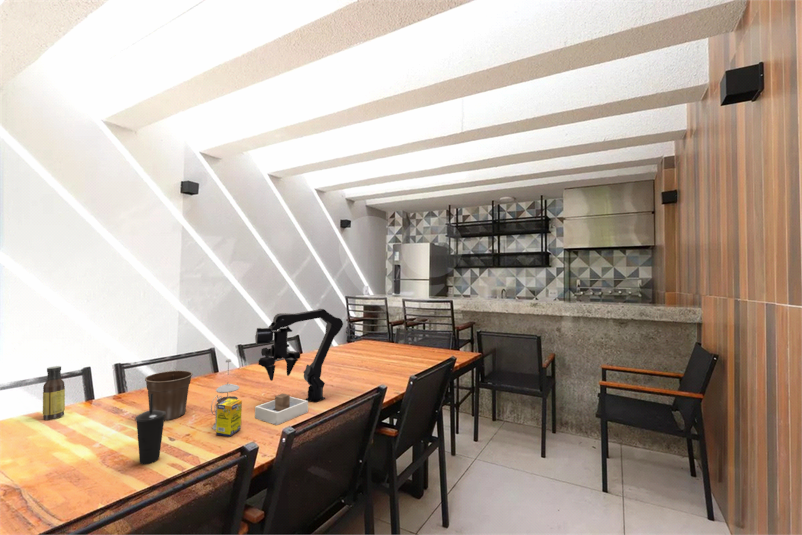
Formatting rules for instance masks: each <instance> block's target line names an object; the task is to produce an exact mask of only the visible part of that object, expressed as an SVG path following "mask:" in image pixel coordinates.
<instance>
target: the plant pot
mask: <svg viewBox="0 0 802 535" xmlns="http://www.w3.org/2000/svg"><path fill="white" fill-rule="evenodd" d="M192 376H193V372H192V371H189V370H168V371H162V372H158V373H157V372H156V373H153V374H150V375H148V376H145V378H144V381H145V383H146V390H147V397H148V399H147V400H148V409H149V410H150V394H153V410H161V411H165V412H166V415H165V417H164V422H166V421H171V420H175V419H178V418H180V417H181V416H184V415H185V414H186V409H187V403H188V396H189V395H188V394H189V389H190V387H189V386H190V384H191V380H192ZM149 410H148V411H149Z"/></svg>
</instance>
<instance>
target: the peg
mask: <svg viewBox="0 0 802 535" xmlns="http://www.w3.org/2000/svg"><path fill="white" fill-rule="evenodd" d="M274 397H275V398H274V400H275V410H276V411H282V410H284V409H287V408H289V407H290V397H291V395H290V394H287V393H281V394H278V395H275V396H274Z"/></svg>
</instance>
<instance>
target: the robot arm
mask: <svg viewBox="0 0 802 535" xmlns="http://www.w3.org/2000/svg"><path fill="white" fill-rule="evenodd" d="M319 318H320V319H321V320H322V321H323V322H325V323H326V325H325V333H324V336H323V338H322V340H321V343H320V345H319V347H318V350H317V352H316V354H315V356H314V358H313V361H312V362H311V363H310V364H306V366H305V370H304V371H303V378H304V380H305V382H306V383H307V384H308V385H309V386H308V388H307V389H308V391H307V397H306V398H305V400H306V401H308V402H309V401H310V402H312V403H318V402H320V401H323V400H326V396H324V387H325V384H326V382H324V381H323V380H322V379H321V376H322V371H323V370H322V368H323V364H324V362H325V360H326V357H327V354H328V353H329V350H330V349H331V348H330V347H331V345H332V343H333V341H334V339H335V337H336V336H337V335H338V334H339V333H340V331H341V330H342V328H343V326H344V322H343V320H342V318H339V317H336V316H334V315H333V314H331V313H329V312H328V311H326V309H324V308H318V309H315V310H314V309H313V310H308V311H302V312H301V311H300V312H297V313H296V312H295V313H285V312H284V313H276V314H274V316H273V319H272V320H273V321H272V322H271V324H270V325H269V326H268V327H265V328H264V327H262V328H261V327H257V328H256V331H255V336H254V338H255V339H254V340H255V345H265V344H271V342H272V341H273V344H271V346H270V348H268V347H263V348H261V353H260V354H261V356H262V357H260V358H259V360H258V366H261V367H264V369H265V370H266V372H267V375H268V377H269V380H270V381H273V380H274V377H275V376H274V375H275V372H276V371H275V370H276V365H275V364H276V362H280V361H284V360H285V362H286V376H288V377H289V376H290V375H291V373H292V371H293V369H294V367H295V365H296V363H297V362H298V361H299V359H301V353H300V352H299V351H295V350H291V351H288V348H289V347H290V344H288V336H289V335H288V334H289V333H292V332H293V329H291V328H290V326H291V325H293V324H296V323H299V322H304V321H310V320H316V319H319Z"/></svg>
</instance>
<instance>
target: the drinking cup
mask: <svg viewBox="0 0 802 535" xmlns="http://www.w3.org/2000/svg"><path fill="white" fill-rule="evenodd" d="M165 415H166V412H165V411H161V410H153V394H150V410H146V411H144V412H142V413H140V414H137V415H135V417H134V418H135V421H136V432H137V444H138V446H137V447H138V454H139V455H138V456H139V464H140V465H149V464H150V465H151V464H152V462H153V463H156V462H157V461H158V460H159V459H160V456H161V455H160V453H161V448H162V447H161V446H162V439H163V431H164V424H165V421H164V417H165Z"/></svg>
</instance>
